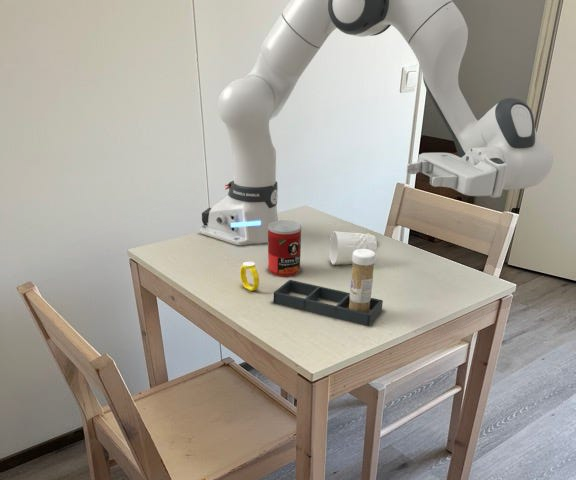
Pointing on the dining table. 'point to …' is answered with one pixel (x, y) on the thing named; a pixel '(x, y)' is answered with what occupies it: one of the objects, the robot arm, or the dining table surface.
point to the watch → (254, 273)
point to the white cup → (349, 246)
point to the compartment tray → (323, 308)
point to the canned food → (284, 247)
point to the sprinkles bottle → (362, 279)
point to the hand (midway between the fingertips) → (419, 175)
